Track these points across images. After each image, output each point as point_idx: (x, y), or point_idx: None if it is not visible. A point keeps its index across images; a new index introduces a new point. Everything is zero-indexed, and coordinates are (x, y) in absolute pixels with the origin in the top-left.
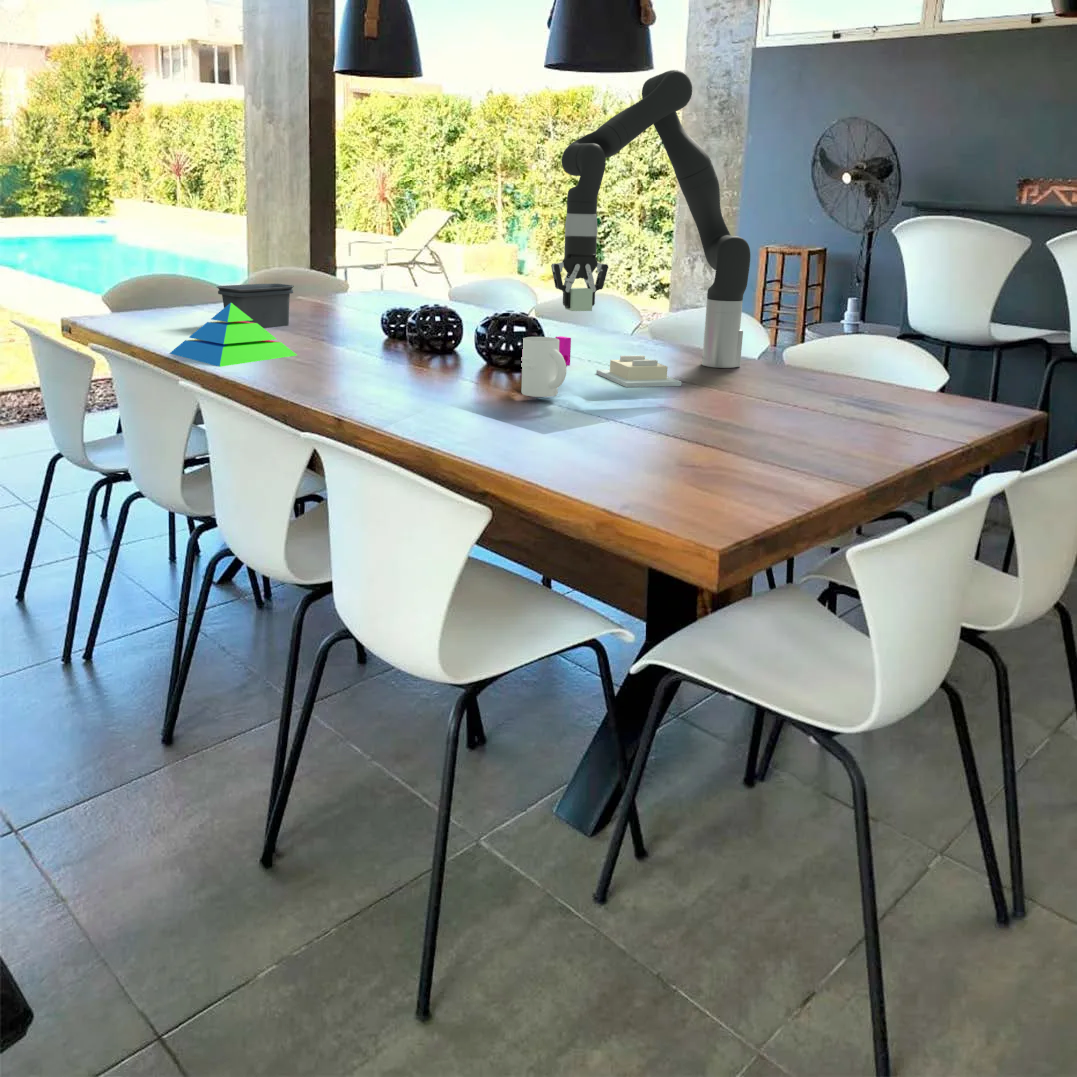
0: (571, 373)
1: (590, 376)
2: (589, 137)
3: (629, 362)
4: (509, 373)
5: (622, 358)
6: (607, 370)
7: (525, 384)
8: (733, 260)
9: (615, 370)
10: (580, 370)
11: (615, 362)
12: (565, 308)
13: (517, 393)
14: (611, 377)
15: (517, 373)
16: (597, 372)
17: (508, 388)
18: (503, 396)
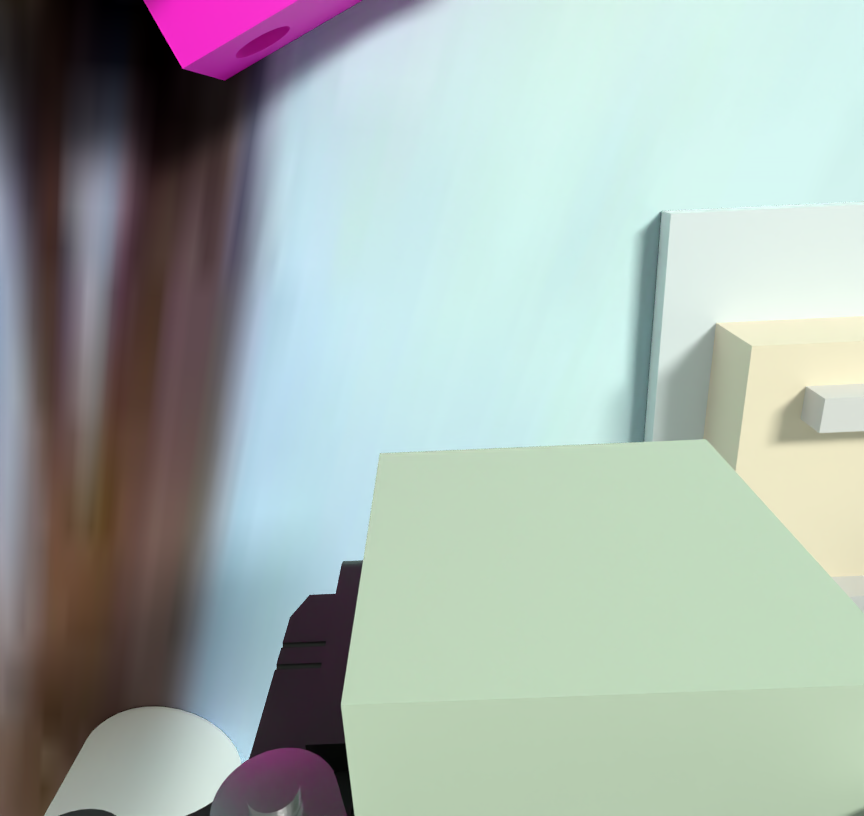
0: (492, 179)
1: (577, 315)
2: None
3: (824, 470)
4: (43, 150)
5: (813, 427)
6: (734, 253)
7: None
8: None
9: (715, 426)
10: (610, 29)
11: (738, 439)
12: (379, 467)
13: (66, 751)
14: None
15: (102, 154)
16: (663, 234)
17: (27, 646)
18: (2, 801)
